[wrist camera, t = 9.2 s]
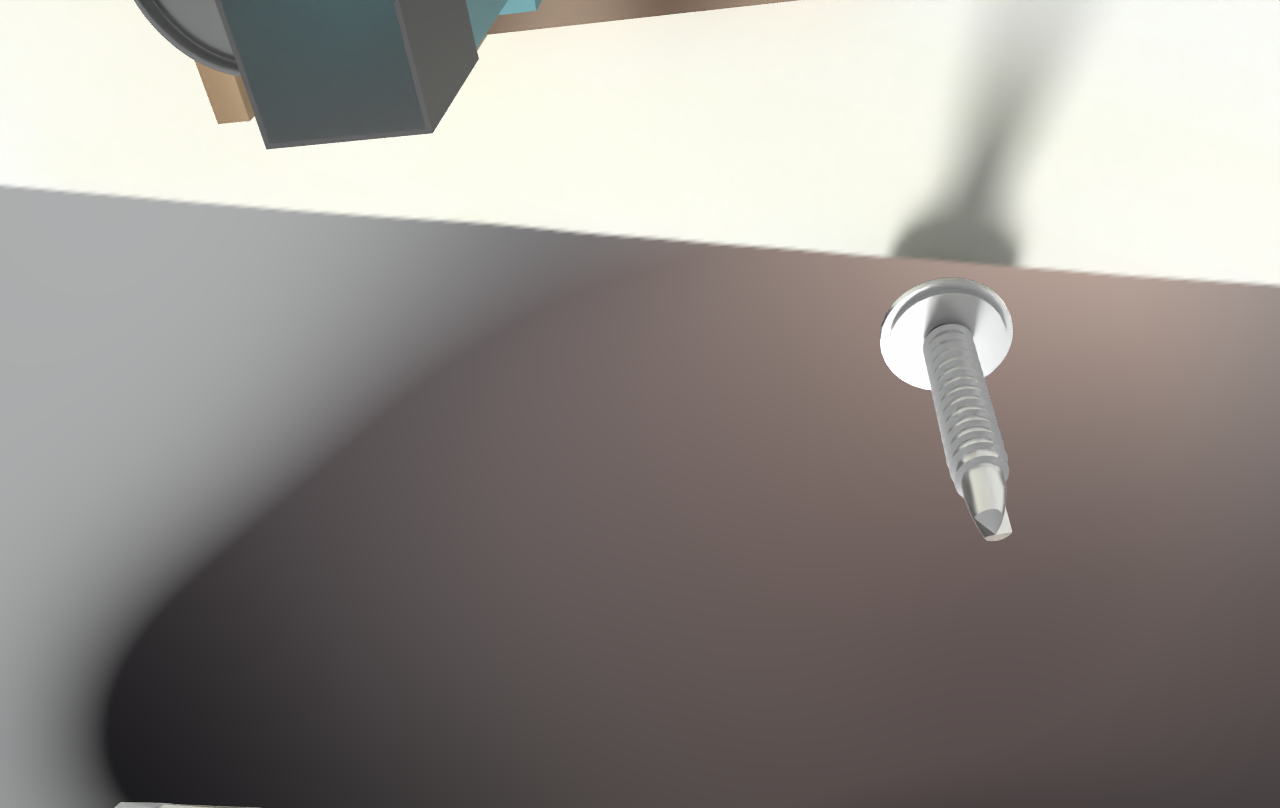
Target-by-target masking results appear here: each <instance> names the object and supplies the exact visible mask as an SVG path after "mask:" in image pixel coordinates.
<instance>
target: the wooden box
mask: <svg viewBox="0 0 1280 808" xmlns="http://www.w3.org/2000/svg"><path fill="white" fill-rule="evenodd" d="M787 1H796V0H542V2H541V4H540V5H539V7H538V9H537V11H531V12H522V13H513V14H505V15H498V17H497V18H496V20H495V21H494V23H493V24H492V26H491V27H490V29H489V31H488V32H487V34H486V35H485V37H484V38H483V40H482V41H481V43H480V45H479V46H478V48H477V50H478V49H479V47H480V46H481V44H482V42H483V41H484V39H485V38H486V36H487V35H488V34H497V33H506V32H515V31H524V30H533V29H542V28H551V27H560V26H569V25H579V24H588V23H597V22H606V21H615V20H624V19H633V18H642V17H651V16H660V15H669V14H678V13H687V12H696V11H705V10H714V9H723V8H733V7H742V6H751V5H760V4H769V3H778V2H787ZM195 62H196V65H197V68H198V71H199V73H200V76H201V79H202V81H203V84H204V87H205V90H206V92H207V95H208V98H209V100H210V103H211V106H212V109H213V111H214V114H215V117H216V119H217V122H218V124H222V123H232V122H242V121H250V120H251V119H252V118H253V117H254V116H255V115H254V112H253V109H252V106H251V103H250V100H249V98H248V95H247V92H246V89H245V86H244V83H243V80H242V77H239V76H234V75H230V74H226V73H223V72H220V71H217V70H214V69H212V68H209V67H207V66H205V65H203V64H201V63H199V62H197V61H195Z"/></svg>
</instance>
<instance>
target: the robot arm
mask: <svg viewBox="0 0 1280 808" xmlns="http://www.w3.org/2000/svg"><path fill="white" fill-rule="evenodd" d="M115 808H250V807H225V806H197V805H176V804H169V803H132V802H130V803H129V802H128V803H127V802H120V803H119V804H118V805H117V806H116V807H115ZM251 808H253V807H251Z"/></svg>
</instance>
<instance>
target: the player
mask: <svg viewBox="0 0 1280 808" xmlns="http://www.w3.org/2000/svg"><path fill="white" fill-rule="evenodd" d="M541 2H542V0H215V3H216V6H217V8H218V11H219V14H220V17H221V20H222V23H223V26H224V29H225V31H226V34H227V37H228V40H229V43H230V46H231V49H232V52H233V54H234V57H235V60H236V63H237V66H238V69H239V72H240V75H241V77H242V80H243V83H244V86H245V89H246V92H247V95H248V98H249V100H250V103H251V106H252V109H253V112H254V115H255V118H256V121H257V123H258V126H259V129H260V132H261V135H262V138H263V141H264V144H265V146H266V149H274V148H285V147H295V146H305V145H315V144H326V143H336V142H346V141H357V140H367V139H377V138H387V137H398V136H408V135H418V134H429V133H433V132H434V130H435V128H436V127H437V125H438V124H439V122H440V120H441V119H442V117H443V115H444V114H445V112H446V111H447V109H448V107H449V106H450V104H451V103H452V101H453V99H454V98H455V96H456V95H457V93H458V91H459V90H460V88H461V87H462V85H463V83H464V82H465V80H466V79H467V77H468V75H469V74H470V72H471V70H472V69H473V67H474V66H475V64H476V62H477V61H478V59H479V58H478V54H477V48H478V46H479V45H480V43H481V41H482V40H483V38H484V37H485V35H486V34H487V32H488V31H489V29H490V27H491V26H492V24H493V23H494V21H495V20H496V18H497V17H498V15H505V14H513V13H522V12H531V11H537V9H538V7H539V5H540V4H541Z"/></svg>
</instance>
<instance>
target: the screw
mask: <svg viewBox="0 0 1280 808" xmlns="http://www.w3.org/2000/svg"><path fill="white" fill-rule="evenodd" d="M1012 334H1013V326H1012V320H1011V316H1010V313H1009V311H1008V309H1007V307H1006V305H1005V303H1004V301H1003V300H1002V299H1001V298H1000V297H999V295H998V294H997V293H996V292H994V291H993V290H992V289H990V288H988V287H987V286H986V285H984V284H981V283H979V282H976V281H974V280H969V279H964V278H940V279H935V280H931V281H927V282H925V283H922V284H919V285H917V286H915V287H913V288H912V289H910V290H909V291H907V292H905V293H904V294H903V295H902V296H900V298H898V299H897V300H896V301H895V302H894V303H893V304H892V306H891V307H890V309H889V310H888V312H887V313H886V315H885V317H884V320H883V322H882V325H881V331H880V344H881V351H882V354H883V357H884V359H885V362H886V364H887V365H888V366H889V368H890V369H891V370H892V372H893V373H894V374H896V375H897V376H898V377H899V378H900V379H902V380H903V381H905V382H907V383H909V384H911V385H913V386H916V387H919V388H923V389H927V390H931V392H932V394H933V401H934V403H935V410H936V413H937V420H938V423H939V429H940V433H941V438H942V442H943V445H944V452H945V455H946V462H947V465H948V467H949V470H950V476H951V478H952V480H953V481H954V483H955V487H956V490H957V492H958V493H959V494H960V495H961V496H962V497H963V498H964V499H965V502H966V504H967V507H968V509H969V512H970V514H971V516H972V518H973V520H974V522H975V524H976V526H977V527H978V529H979V531H980V532H981V534H982V535H983V536H984V538H985V539H986V540H988V541H997V540H1001V539H1003V538H1005V537H1007V536H1009V535H1010V534H1011V533H1012V530H1011V525H1010V522H1009V518H1008V515H1007V511H1006V507H1005V505H1006V485H1005V481H1006V480H1007V478H1008V475H1009V468H1008V465H1007V461H1008V457H1007V454H1006V452H1005V450H1004V443H1003V441H1002V439H1001V433H1000V430H999V429H998V422H997V420H996V418H995V412H994V409H993V408H992V402H991V399H990V397H989V391H988V389H987V387H986V381H985V379H984V377H985V376H987V375H988V374H990V373H991V372H992V371H993V370H994V369H995V368H996V367H997V366H998V365H999V364H1000V363H1001V362H1002V360H1003V359H1004V357H1005V356H1006V354H1007V353H1008V350H1009V347H1010V344H1011V342H1012Z"/></svg>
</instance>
